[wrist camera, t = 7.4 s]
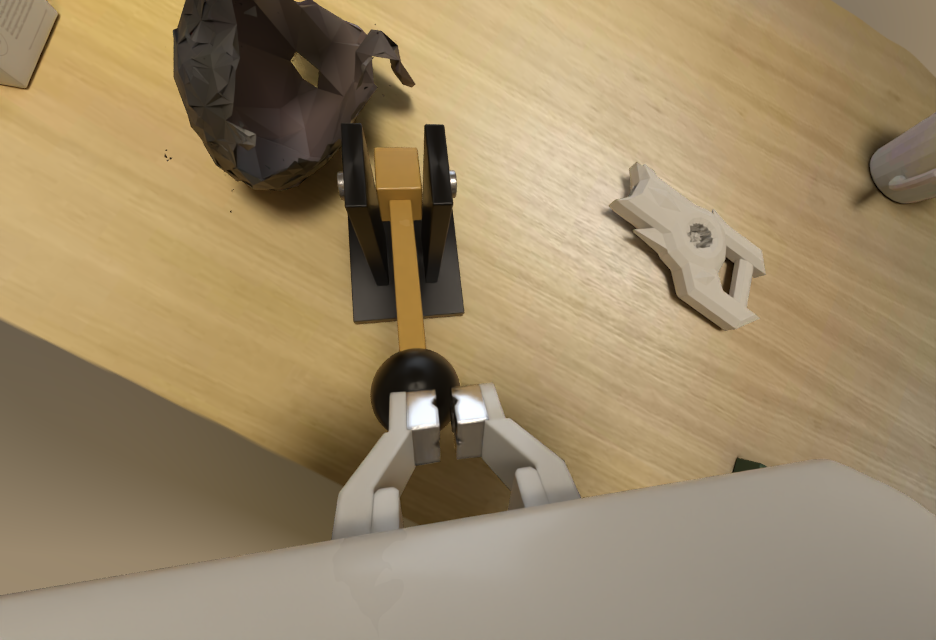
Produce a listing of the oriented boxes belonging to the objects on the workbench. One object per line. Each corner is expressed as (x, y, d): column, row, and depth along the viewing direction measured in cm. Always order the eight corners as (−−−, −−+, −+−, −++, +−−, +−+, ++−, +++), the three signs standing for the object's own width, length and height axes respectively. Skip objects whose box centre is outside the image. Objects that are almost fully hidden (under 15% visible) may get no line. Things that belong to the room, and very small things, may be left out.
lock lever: (461, 435, 15) (472, 428, 12) (378, 447, 14) (364, 443, 11) (429, 189, 20) (431, 136, 17) (368, 190, 19) (357, 135, 16)
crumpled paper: (290, 17, 31) (174, 193, 28) (202, -266, 17) (-59, 23, 13) (425, 94, 33) (334, 267, 30) (448, -99, 19) (280, 187, 16)
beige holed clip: (606, 224, 29) (650, 145, 31) (584, 240, 32) (625, 167, 35) (765, 339, 30) (795, 254, 33) (728, 343, 33) (758, 266, 36)
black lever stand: (462, 315, 29) (501, 257, 16) (356, 324, 28) (299, 268, 14) (450, 210, 31) (476, 77, 17) (349, 213, 29) (293, 70, 16)
